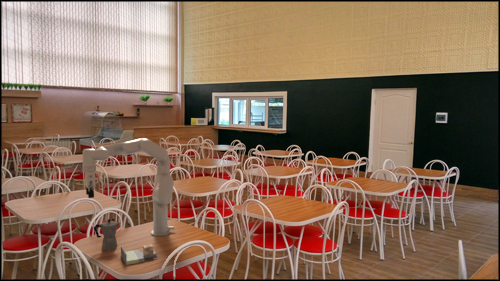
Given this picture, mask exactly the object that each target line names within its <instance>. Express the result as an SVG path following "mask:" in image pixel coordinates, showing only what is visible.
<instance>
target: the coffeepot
mask: <svg viewBox="0 0 500 281" xmlns="http://www.w3.org/2000/svg"><path fill="white" fill-rule="evenodd" d="M120 225H121V222H117V221H111V218H108V219H107V221H106V222H102V223H99V224H95V226H93V230H94V233H95V235H96V237H97V238H101V237H102V236H103V238H102V243H101V249H102V250H104V251H114V250H115V249H117V248H118V242H117V237H116V234H117V229H118V228H119V226H120ZM98 228H101V232H102V235H100V233H99V232H98Z"/></svg>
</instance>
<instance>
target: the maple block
mask: <svg viewBox="0 0 500 281" xmlns="http://www.w3.org/2000/svg"><path fill="white" fill-rule="evenodd" d="M153 249H154V245H153V244H152V243H150V244H144V245H142V251H143V253H144V254H150V253H153Z"/></svg>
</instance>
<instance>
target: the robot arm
mask: <svg viewBox="0 0 500 281" xmlns="http://www.w3.org/2000/svg"><path fill="white" fill-rule="evenodd" d="M141 152H144V153H145V154H147V155H148V156H150V157H152V158H154V159H155V160H156V162H157V164H156V165H157V166H156V168H157V169H156V176H155V183H156V184H157V185H158V187H156V188H155V189H153V191H152V196H151V197H152V206H153V209H152V213H153V215H152V219H153V221H152V222H153V224H152V228H153V229H152V230H151V231H150V234H151V235H152V236H153V237H154V236H155V237H165V236H167V235H169V234H170V233H171V231H170V230H175V226H172V225H170V226H169V225H168V222H169V220H168V219H169V218H168V214H169V213H168V208H169V207H168V205H169V203H171V201H172V198H173V193H174V192H173V190H174V178H173V177H172V176H171V175H170V171H171V160H170V157H169V153H168V151H167V148H164V147H163V146H161V145H159V144H157V143H155V142H154V141H153V140H151V139H148V138H145V137H143V138H142V137H141V138H137V139H133V140H128V141H127V140H126V141H124V142H118V143H113V144H108V145H103V146H100V147H97V148H96V149H95V148H84V149H82V172H83V173H84V184H85V188H86V189H85V194H86V195H88V196H87V198H88V199H93V198H95V189H94V188H96V173H95V172H97V161H100V162H101V161H103V162H104V161H107V160H108V159H109V158H110V157H115V156H129V155H132V154H137V153H141Z"/></svg>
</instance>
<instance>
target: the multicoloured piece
mask: <svg viewBox="0 0 500 281" xmlns="http://www.w3.org/2000/svg"><path fill="white" fill-rule="evenodd" d="M120 257H121V259H122V260H123V263H124V265H125V266H128V265H132V264H137V263H138V264H139V263H143V262H149V261H156V260H159V258H158V255H157V252H156V250H155V249H154V248H153V253H150V254H144V253H143V250H142V251H140V250H139V249H134V250H133V249H132V250H128V251H127V250H126V251H125V248H124V247H123V245H120Z"/></svg>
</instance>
